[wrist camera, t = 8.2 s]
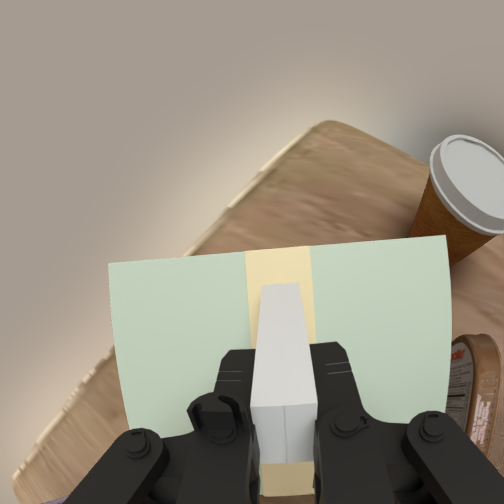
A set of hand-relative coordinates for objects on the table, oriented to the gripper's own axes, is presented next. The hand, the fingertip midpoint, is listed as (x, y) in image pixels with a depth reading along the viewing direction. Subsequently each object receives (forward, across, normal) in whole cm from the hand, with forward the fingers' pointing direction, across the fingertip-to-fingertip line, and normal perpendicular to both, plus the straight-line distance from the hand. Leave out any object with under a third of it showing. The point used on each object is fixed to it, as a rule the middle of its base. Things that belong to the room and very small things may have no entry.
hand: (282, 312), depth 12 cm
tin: (+4, +14, -16) cm, 22 cm away
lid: (0, 0, -5) cm, 5 cm away
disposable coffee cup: (+17, +17, -4) cm, 24 cm away
